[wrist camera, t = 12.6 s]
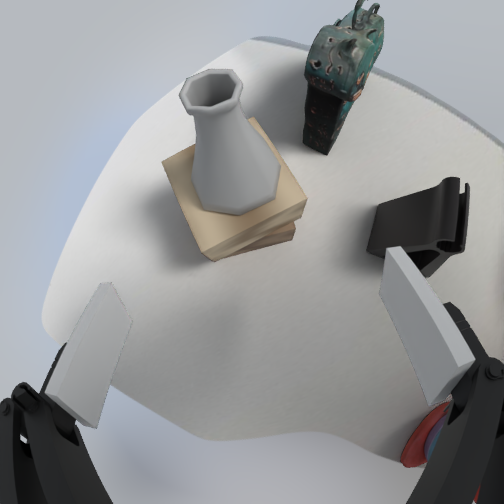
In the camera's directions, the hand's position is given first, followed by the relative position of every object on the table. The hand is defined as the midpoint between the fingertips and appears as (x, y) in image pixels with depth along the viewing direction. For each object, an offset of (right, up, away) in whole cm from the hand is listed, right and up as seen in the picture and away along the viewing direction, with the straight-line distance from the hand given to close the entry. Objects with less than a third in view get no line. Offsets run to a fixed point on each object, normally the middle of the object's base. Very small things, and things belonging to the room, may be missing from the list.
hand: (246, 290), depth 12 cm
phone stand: (+18, +3, +17) cm, 25 cm away
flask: (-1, +8, +9) cm, 12 cm away
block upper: (-1, +7, +14) cm, 16 cm away
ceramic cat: (+12, +22, +21) cm, 32 cm away
